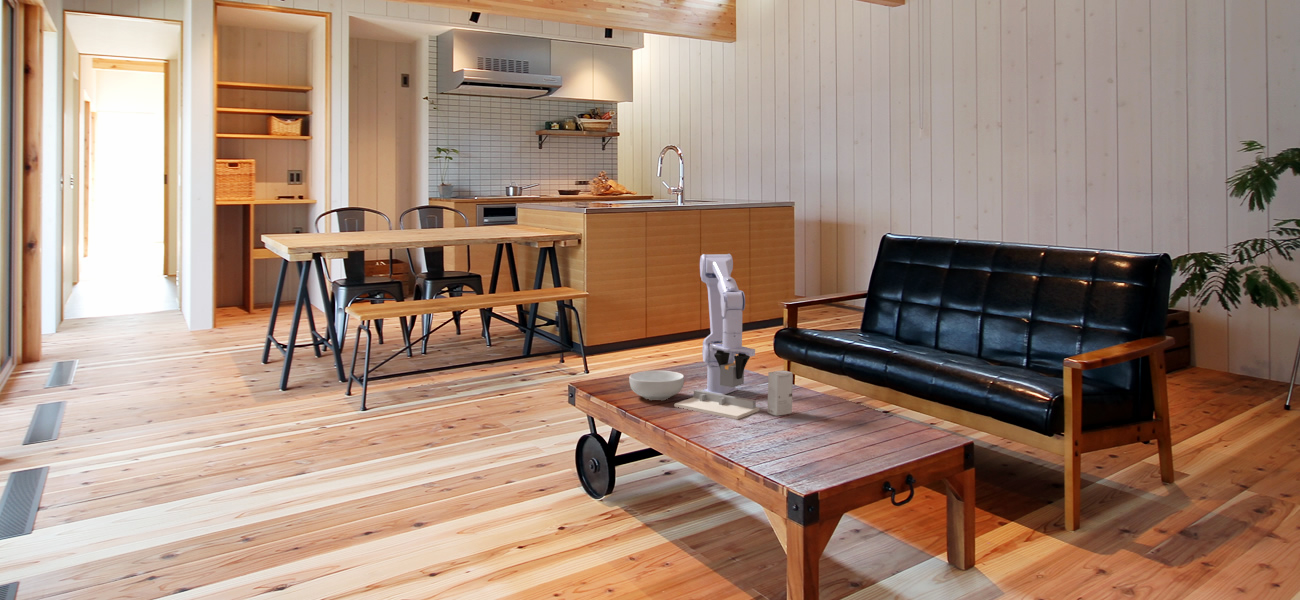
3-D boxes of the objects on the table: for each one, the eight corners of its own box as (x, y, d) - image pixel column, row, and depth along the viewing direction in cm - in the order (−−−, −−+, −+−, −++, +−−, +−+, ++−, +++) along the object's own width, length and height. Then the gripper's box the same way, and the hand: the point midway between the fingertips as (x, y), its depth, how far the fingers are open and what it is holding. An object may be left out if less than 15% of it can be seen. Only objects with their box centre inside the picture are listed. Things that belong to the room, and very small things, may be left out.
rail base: (697, 398, 262) (697, 388, 262) (759, 410, 249) (759, 400, 248) (674, 406, 253) (674, 396, 253) (737, 419, 239) (737, 408, 239)
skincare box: (777, 416, 243) (777, 375, 241) (766, 412, 246) (767, 372, 245) (793, 413, 246) (794, 372, 244) (782, 409, 250) (783, 369, 248)
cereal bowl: (685, 391, 271) (685, 370, 270) (682, 405, 255) (682, 382, 254) (632, 390, 273) (632, 368, 272) (626, 403, 257) (626, 381, 256)
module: (731, 381, 256) (731, 361, 255) (743, 383, 254) (744, 363, 253) (719, 385, 251) (720, 365, 251) (732, 387, 249) (733, 367, 248)
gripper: (704, 331, 252) (703, 376, 253) (746, 336, 243) (745, 383, 245) (717, 328, 257) (716, 372, 259) (759, 333, 248) (758, 378, 250)
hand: (731, 377), depth 252 cm, fingers closed on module, 4 cm apart
